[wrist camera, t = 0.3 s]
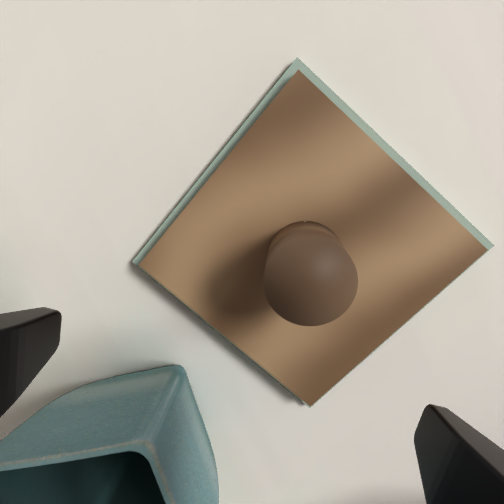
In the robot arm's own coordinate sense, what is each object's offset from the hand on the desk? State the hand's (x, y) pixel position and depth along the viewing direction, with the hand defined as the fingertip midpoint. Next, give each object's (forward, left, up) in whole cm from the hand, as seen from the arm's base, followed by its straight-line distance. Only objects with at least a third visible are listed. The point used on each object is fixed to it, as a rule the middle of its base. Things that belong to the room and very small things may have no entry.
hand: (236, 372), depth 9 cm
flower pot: (-2, +13, -13) cm, 18 cm away
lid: (-2, -1, -12) cm, 12 cm away
